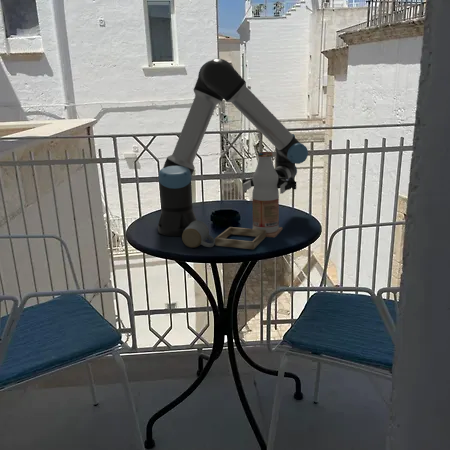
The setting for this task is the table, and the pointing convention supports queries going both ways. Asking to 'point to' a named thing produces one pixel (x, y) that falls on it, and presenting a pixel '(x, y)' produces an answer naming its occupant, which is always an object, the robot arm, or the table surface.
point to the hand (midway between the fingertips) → (262, 188)
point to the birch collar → (223, 241)
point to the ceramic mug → (197, 235)
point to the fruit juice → (265, 195)
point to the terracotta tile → (274, 233)
